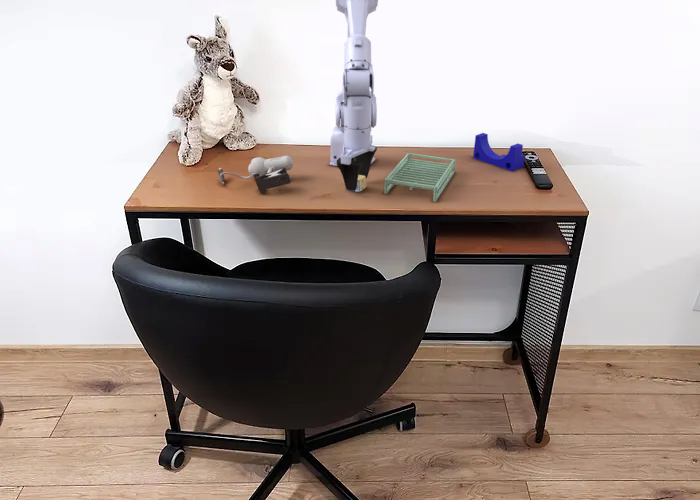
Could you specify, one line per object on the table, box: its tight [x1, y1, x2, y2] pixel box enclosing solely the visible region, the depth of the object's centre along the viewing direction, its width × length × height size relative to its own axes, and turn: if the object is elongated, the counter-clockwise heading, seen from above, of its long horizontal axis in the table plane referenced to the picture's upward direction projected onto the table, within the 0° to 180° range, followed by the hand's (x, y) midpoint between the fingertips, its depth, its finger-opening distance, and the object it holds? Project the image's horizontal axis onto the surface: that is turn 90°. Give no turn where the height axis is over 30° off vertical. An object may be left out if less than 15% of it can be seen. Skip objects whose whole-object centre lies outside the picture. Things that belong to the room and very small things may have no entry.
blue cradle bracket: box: [473, 132, 526, 172], centre depth 158 cm, size 12×4×6 cm, turn 42°
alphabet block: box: [349, 175, 367, 193], centre depth 143 cm, size 3×3×3 cm
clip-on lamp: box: [217, 155, 294, 195], centre depth 145 cm, size 12×6×18 cm
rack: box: [383, 152, 456, 203], centre depth 147 cm, size 18×12×4 cm, turn 159°
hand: (356, 183), depth 143 cm, fingers open, 7 cm apart
